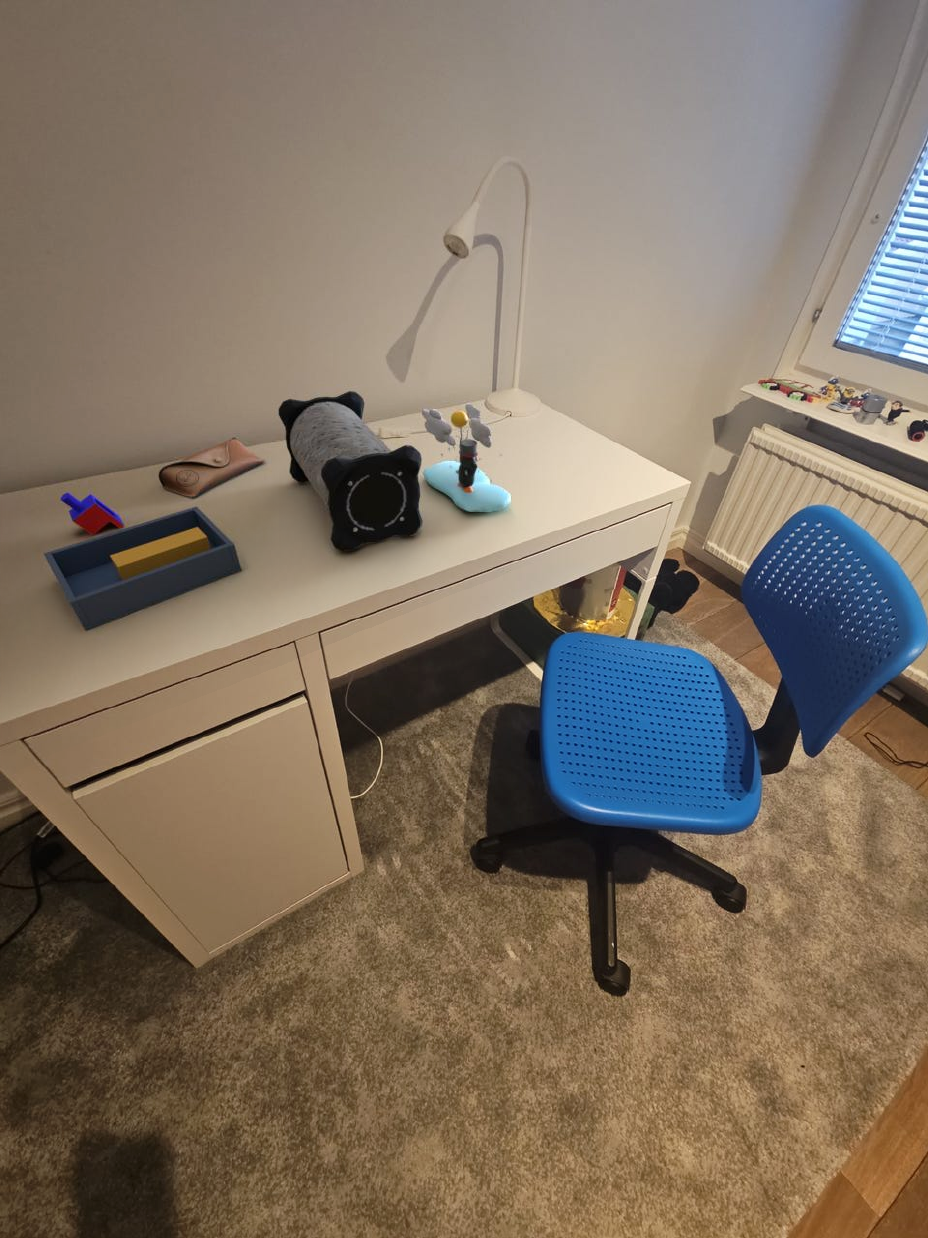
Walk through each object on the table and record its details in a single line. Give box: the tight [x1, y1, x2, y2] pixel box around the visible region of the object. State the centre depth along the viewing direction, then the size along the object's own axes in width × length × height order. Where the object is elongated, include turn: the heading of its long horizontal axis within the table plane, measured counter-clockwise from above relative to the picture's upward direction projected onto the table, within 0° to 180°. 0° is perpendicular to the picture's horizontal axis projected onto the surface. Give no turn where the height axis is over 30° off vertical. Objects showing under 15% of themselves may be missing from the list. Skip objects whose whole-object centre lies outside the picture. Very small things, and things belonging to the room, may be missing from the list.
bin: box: [43, 506, 242, 631], centre depth 76 cm, size 21×14×5 cm, turn 132°
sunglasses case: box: [158, 436, 266, 498], centre depth 100 cm, size 18×7×7 cm
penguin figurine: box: [421, 403, 512, 513], centre depth 94 cm, size 20×11×15 cm, turn 30°
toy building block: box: [59, 492, 124, 536], centre depth 84 cm, size 4×4×8 cm
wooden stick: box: [110, 527, 211, 580], centre depth 77 cm, size 4×4×12 cm
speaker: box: [278, 390, 424, 552], centre depth 89 cm, size 15×28×15 cm, turn 28°
